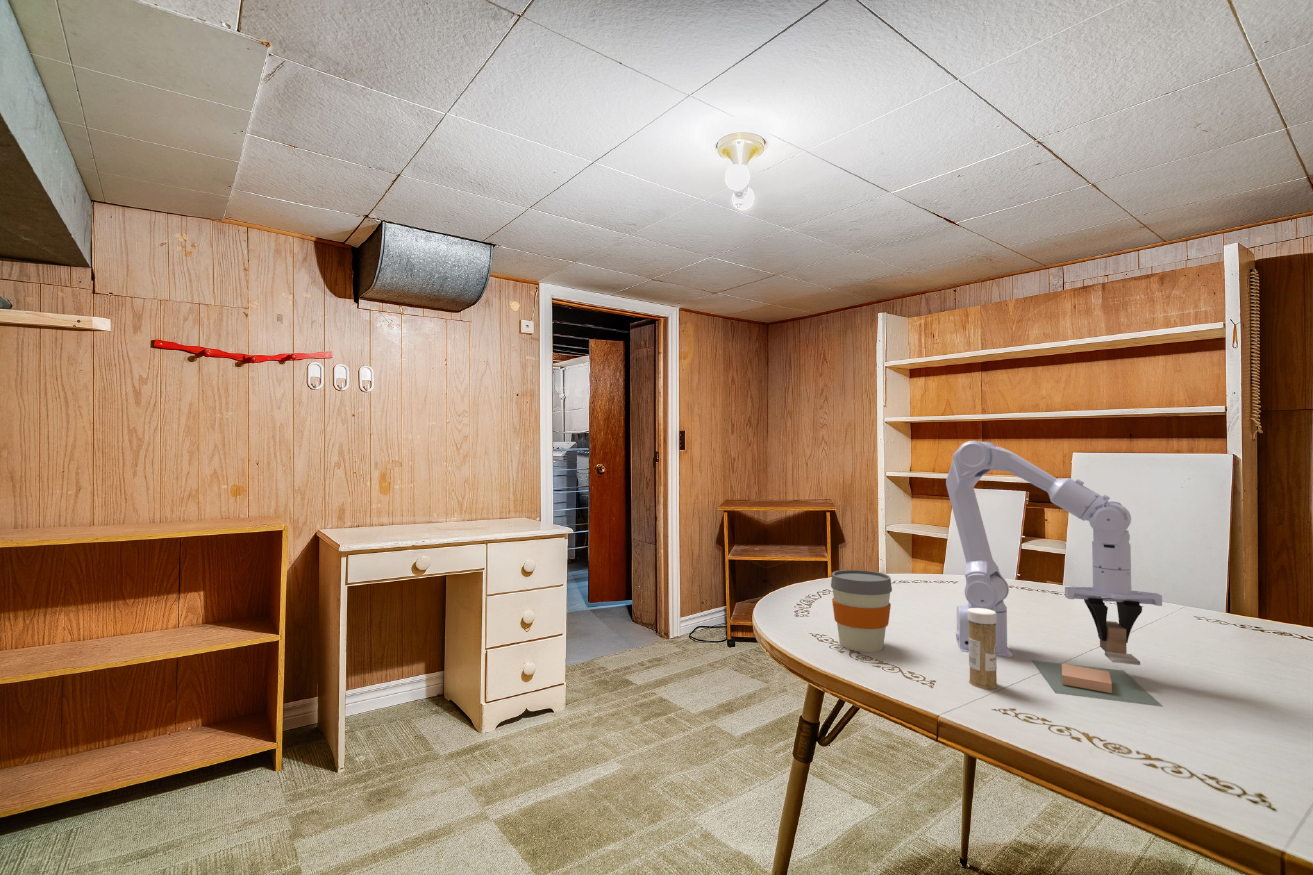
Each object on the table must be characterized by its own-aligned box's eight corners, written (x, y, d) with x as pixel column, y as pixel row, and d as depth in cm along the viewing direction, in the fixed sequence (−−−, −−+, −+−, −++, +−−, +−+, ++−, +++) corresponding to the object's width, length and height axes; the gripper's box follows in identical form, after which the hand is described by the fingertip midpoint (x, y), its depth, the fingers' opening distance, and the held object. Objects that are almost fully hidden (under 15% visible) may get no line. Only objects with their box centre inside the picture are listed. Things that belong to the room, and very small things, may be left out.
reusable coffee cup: (892, 658, 120) (891, 583, 120) (828, 650, 124) (827, 578, 125) (892, 640, 131) (891, 572, 132) (833, 633, 136) (833, 567, 136)
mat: (1055, 695, 102) (1055, 692, 102) (1031, 662, 117) (1031, 660, 117) (1163, 708, 96) (1163, 706, 96) (1123, 672, 112) (1123, 670, 112)
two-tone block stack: (1095, 646, 113) (1095, 620, 113) (1120, 648, 112) (1120, 622, 112) (1112, 662, 105) (1112, 634, 105) (1140, 665, 104) (1139, 636, 104)
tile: (1061, 673, 111) (1062, 685, 105) (1061, 663, 111) (1062, 675, 105) (1108, 681, 107) (1112, 694, 101) (1108, 671, 107) (1111, 683, 101)
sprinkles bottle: (1000, 692, 103) (999, 614, 103) (971, 689, 104) (970, 612, 104) (994, 682, 107) (993, 607, 107) (966, 679, 108) (965, 605, 109)
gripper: (1072, 568, 110) (1073, 642, 109) (1169, 574, 104) (1170, 651, 104) (1061, 561, 116) (1062, 631, 116) (1152, 567, 111) (1153, 640, 111)
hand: (1112, 640), depth 110 cm, fingers closed on two-tone block stack, 3 cm apart
